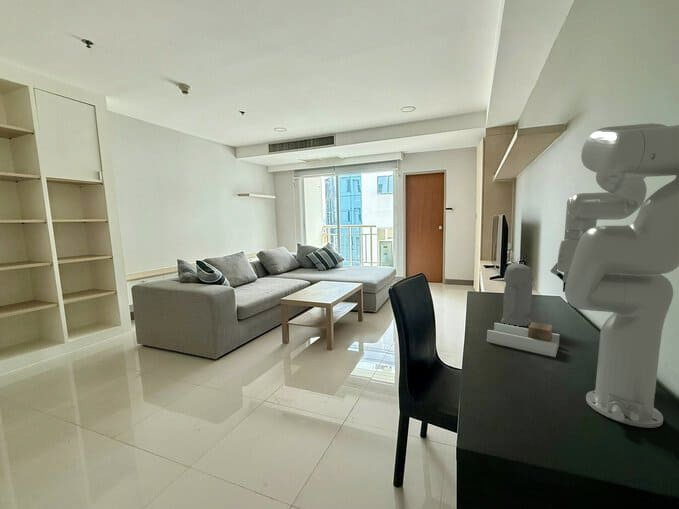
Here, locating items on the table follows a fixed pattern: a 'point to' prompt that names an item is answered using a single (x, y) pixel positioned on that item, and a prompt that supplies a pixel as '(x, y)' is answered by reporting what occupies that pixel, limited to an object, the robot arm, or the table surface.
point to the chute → (522, 339)
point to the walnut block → (540, 331)
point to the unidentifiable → (517, 295)
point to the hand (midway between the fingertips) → (575, 294)
